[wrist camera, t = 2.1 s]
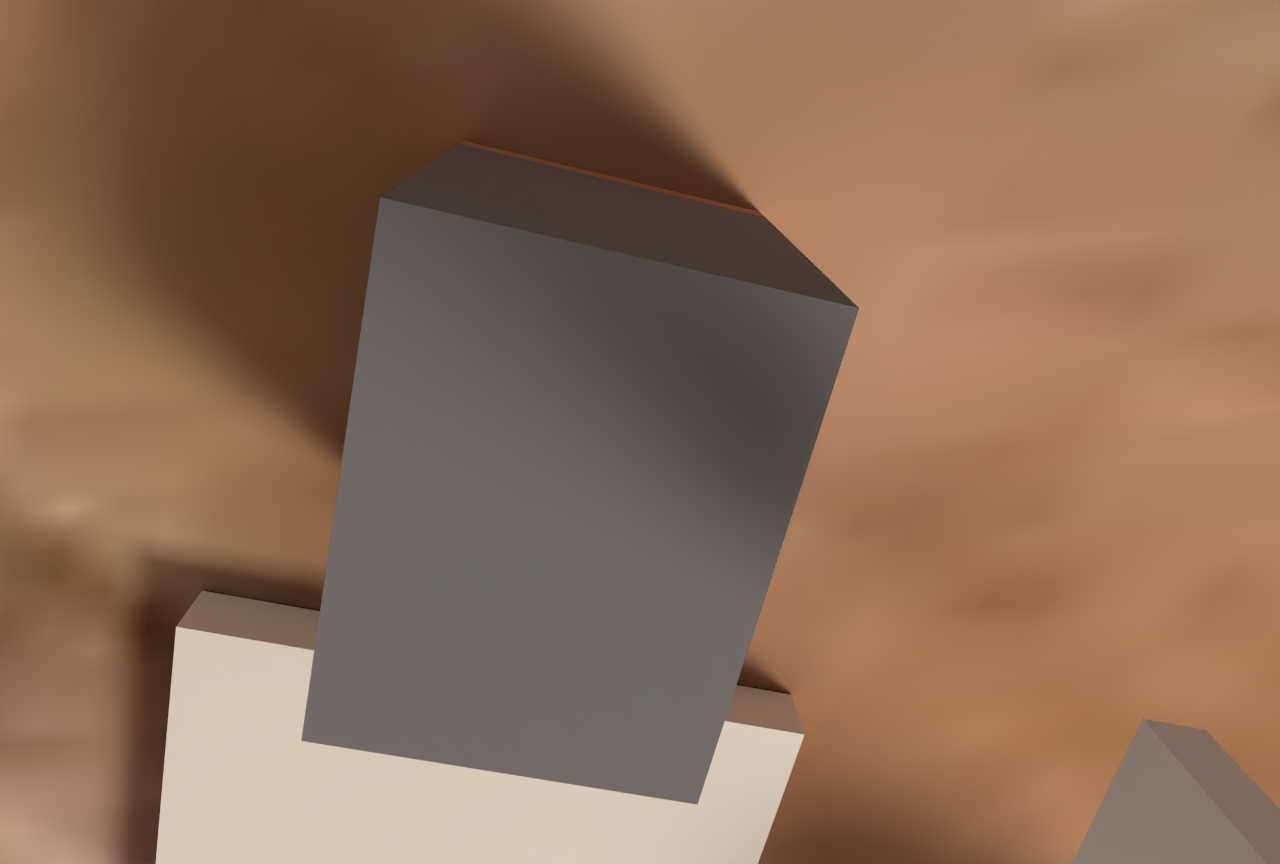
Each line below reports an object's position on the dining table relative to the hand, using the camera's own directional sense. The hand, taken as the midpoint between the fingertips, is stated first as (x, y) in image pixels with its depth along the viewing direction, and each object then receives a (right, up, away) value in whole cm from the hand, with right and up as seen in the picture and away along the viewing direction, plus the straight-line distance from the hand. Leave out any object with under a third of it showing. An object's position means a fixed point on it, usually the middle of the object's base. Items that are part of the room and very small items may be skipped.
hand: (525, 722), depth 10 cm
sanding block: (0, +4, +11) cm, 12 cm away
